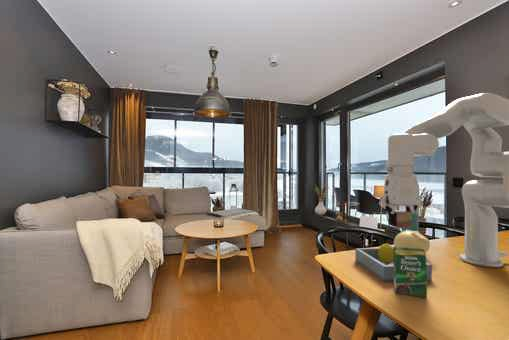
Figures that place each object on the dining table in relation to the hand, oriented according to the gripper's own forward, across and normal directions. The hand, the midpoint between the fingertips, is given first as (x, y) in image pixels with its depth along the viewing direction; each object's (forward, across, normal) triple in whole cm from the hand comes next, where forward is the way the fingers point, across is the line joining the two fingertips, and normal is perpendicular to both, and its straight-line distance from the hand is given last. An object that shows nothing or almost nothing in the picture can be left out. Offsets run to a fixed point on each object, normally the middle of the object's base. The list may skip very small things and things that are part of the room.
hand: (400, 224), depth 86 cm
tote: (+17, 0, +5) cm, 18 cm away
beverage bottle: (+18, +26, +29) cm, 43 cm away
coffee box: (+18, -6, -12) cm, 22 cm away
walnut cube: (+1, 0, 0) cm, 1 cm away
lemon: (+17, 0, +8) cm, 18 cm away
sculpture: (+18, +17, +17) cm, 30 cm away
